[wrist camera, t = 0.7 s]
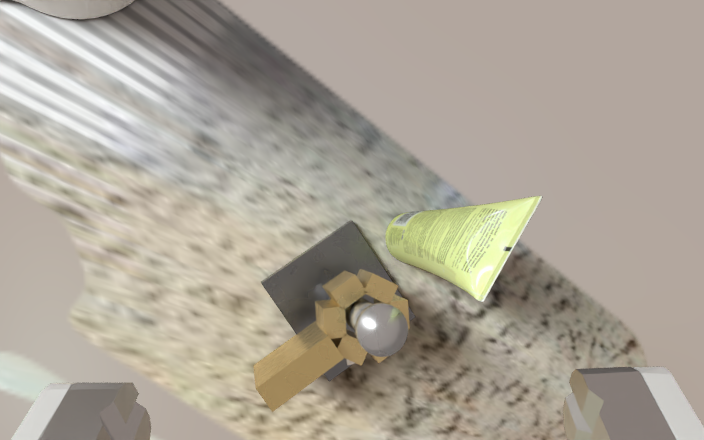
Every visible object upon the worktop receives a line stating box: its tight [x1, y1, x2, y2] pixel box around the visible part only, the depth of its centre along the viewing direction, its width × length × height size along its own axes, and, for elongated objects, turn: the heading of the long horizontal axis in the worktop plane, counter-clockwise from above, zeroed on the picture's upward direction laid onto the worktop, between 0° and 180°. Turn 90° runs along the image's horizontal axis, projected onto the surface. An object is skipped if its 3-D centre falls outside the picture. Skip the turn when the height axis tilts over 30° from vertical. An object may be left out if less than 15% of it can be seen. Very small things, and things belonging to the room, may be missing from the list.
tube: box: [386, 196, 543, 302], centre depth 41 cm, size 6×5×20 cm
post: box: [261, 221, 415, 381], centre depth 41 cm, size 11×10×15 cm
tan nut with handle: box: [253, 269, 410, 412], centre depth 39 cm, size 6×12×6 cm, turn 124°
